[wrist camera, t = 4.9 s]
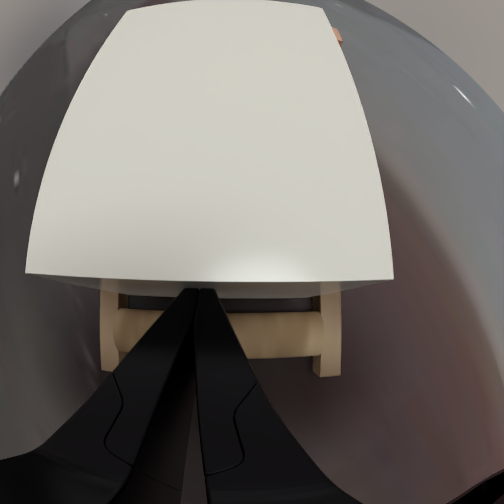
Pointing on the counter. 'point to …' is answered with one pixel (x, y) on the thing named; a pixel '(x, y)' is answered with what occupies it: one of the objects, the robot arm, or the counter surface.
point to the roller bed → (237, 332)
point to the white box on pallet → (214, 160)
